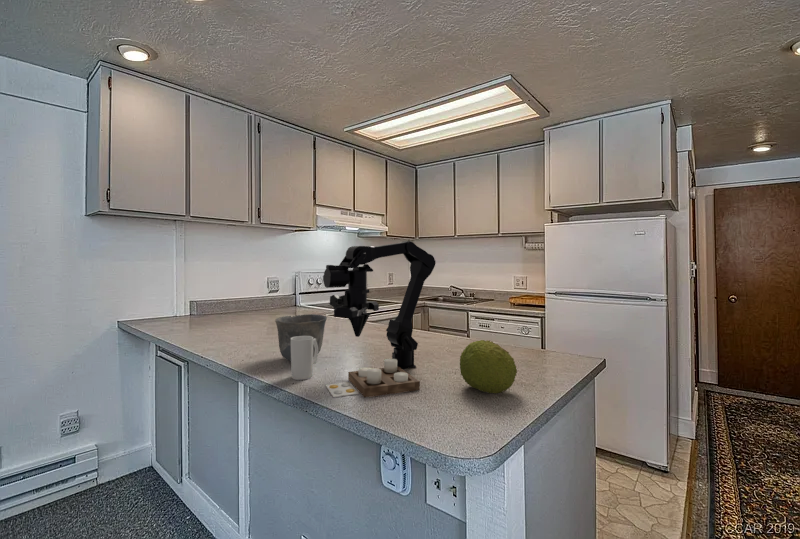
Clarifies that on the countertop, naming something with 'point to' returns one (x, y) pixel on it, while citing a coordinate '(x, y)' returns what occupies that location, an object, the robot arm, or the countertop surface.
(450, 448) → the countertop surface
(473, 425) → the countertop surface
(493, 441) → the countertop surface
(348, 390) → the card
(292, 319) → the dark grey pot
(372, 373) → the button
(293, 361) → the mug
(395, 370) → the pale grey egg
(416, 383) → the board
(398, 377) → the button
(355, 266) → the robot arm
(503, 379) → the fruit
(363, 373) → the white egg
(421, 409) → the countertop surface
